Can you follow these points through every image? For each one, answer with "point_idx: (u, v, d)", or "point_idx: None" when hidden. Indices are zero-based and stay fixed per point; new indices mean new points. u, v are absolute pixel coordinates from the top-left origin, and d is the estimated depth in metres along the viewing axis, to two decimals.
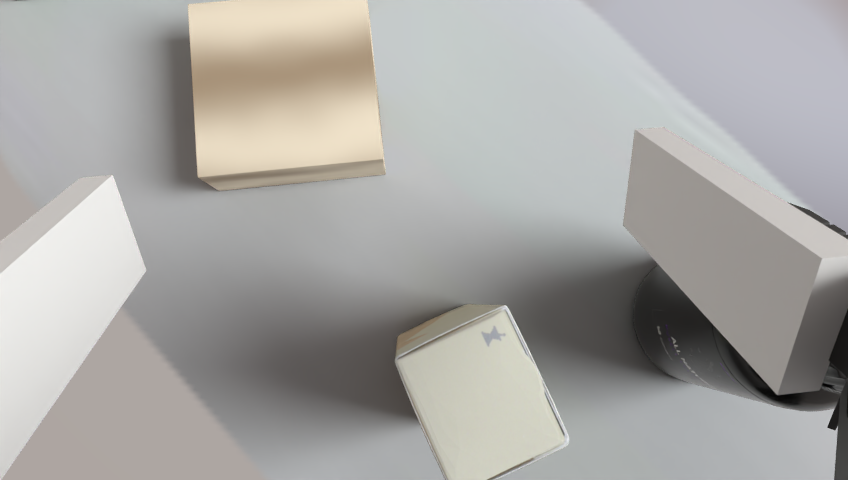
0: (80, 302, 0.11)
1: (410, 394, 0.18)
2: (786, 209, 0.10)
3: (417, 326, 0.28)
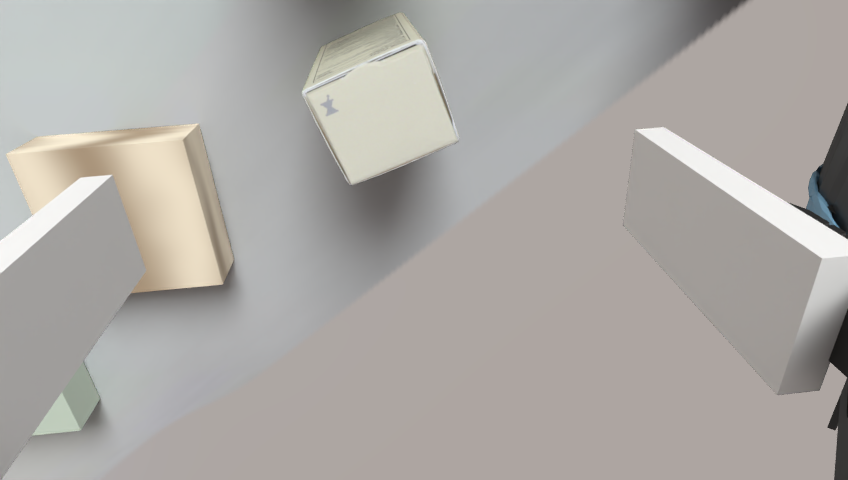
0: (80, 302, 0.11)
1: (378, 174, 0.22)
2: (786, 209, 0.10)
3: None
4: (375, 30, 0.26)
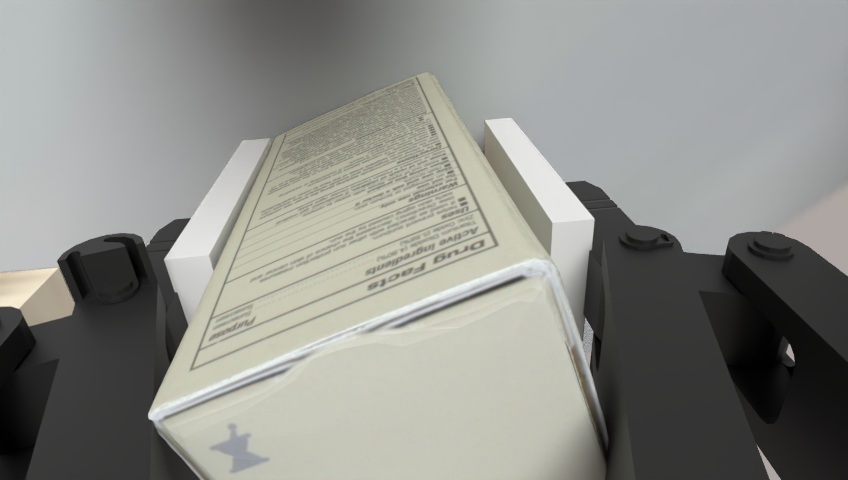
0: None
1: None
2: (556, 185, 0.11)
3: None
4: (380, 126, 0.12)
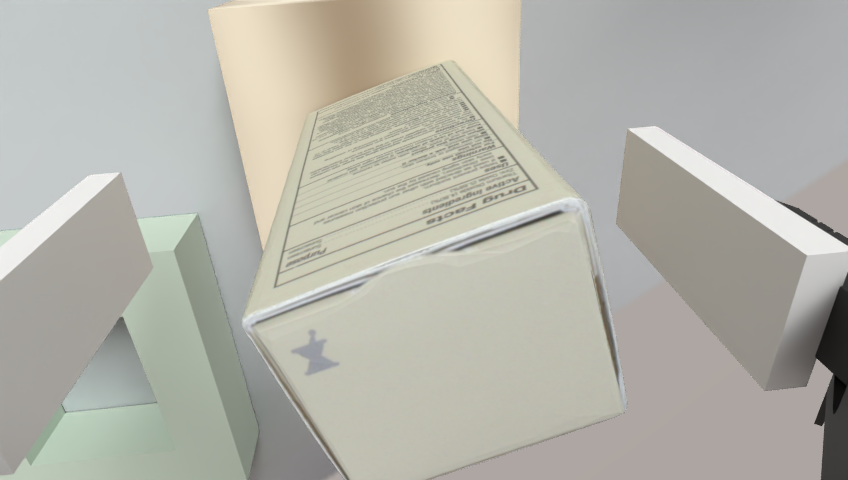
0: (90, 298, 0.11)
1: (428, 479, 0.09)
2: (773, 207, 0.10)
3: None
4: (413, 104, 0.13)
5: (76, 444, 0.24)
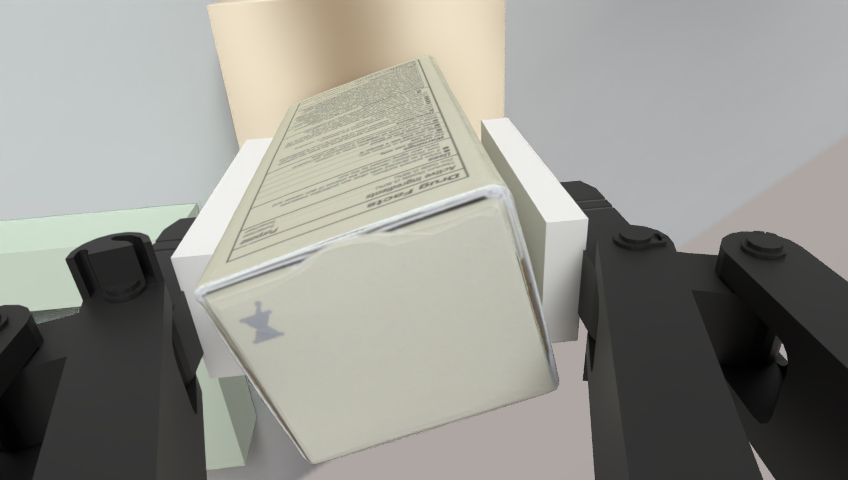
0: None
1: (373, 446, 0.10)
2: (551, 185, 0.11)
3: None
4: (383, 97, 0.14)
5: None
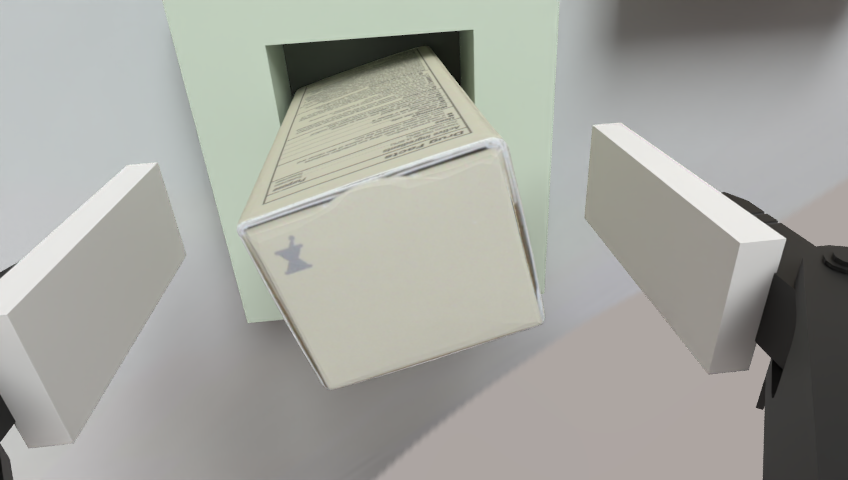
0: (133, 281, 0.12)
1: (383, 374, 0.11)
2: (717, 199, 0.10)
3: None
4: (388, 78, 0.16)
5: None
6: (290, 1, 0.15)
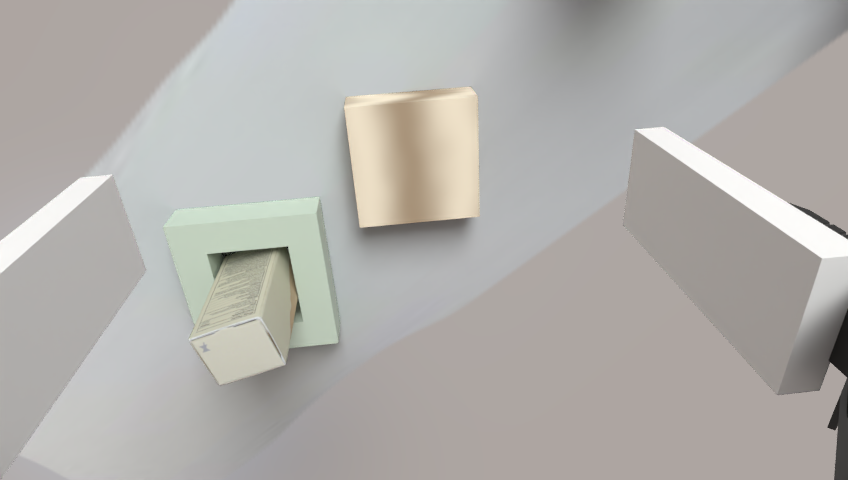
0: (80, 302, 0.11)
1: (236, 380, 0.36)
2: (786, 209, 0.10)
3: None
4: (253, 266, 0.41)
5: None
6: (215, 240, 0.40)
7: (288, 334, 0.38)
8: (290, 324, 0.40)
